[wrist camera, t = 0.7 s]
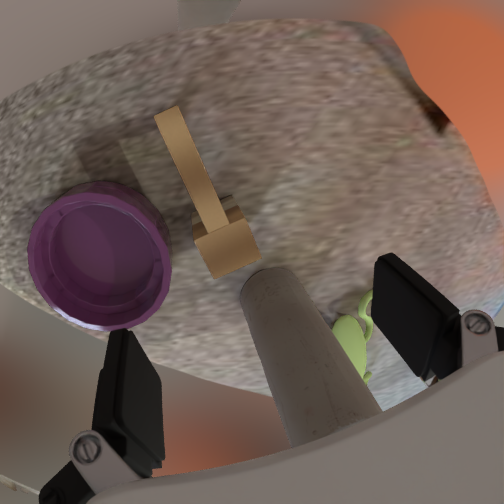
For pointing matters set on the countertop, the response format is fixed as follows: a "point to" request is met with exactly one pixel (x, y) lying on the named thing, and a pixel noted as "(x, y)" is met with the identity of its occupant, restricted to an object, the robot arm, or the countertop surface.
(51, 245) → the bowl
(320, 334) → the thermos bottle
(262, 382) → the countertop surface
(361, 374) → the figurine
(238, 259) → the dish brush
